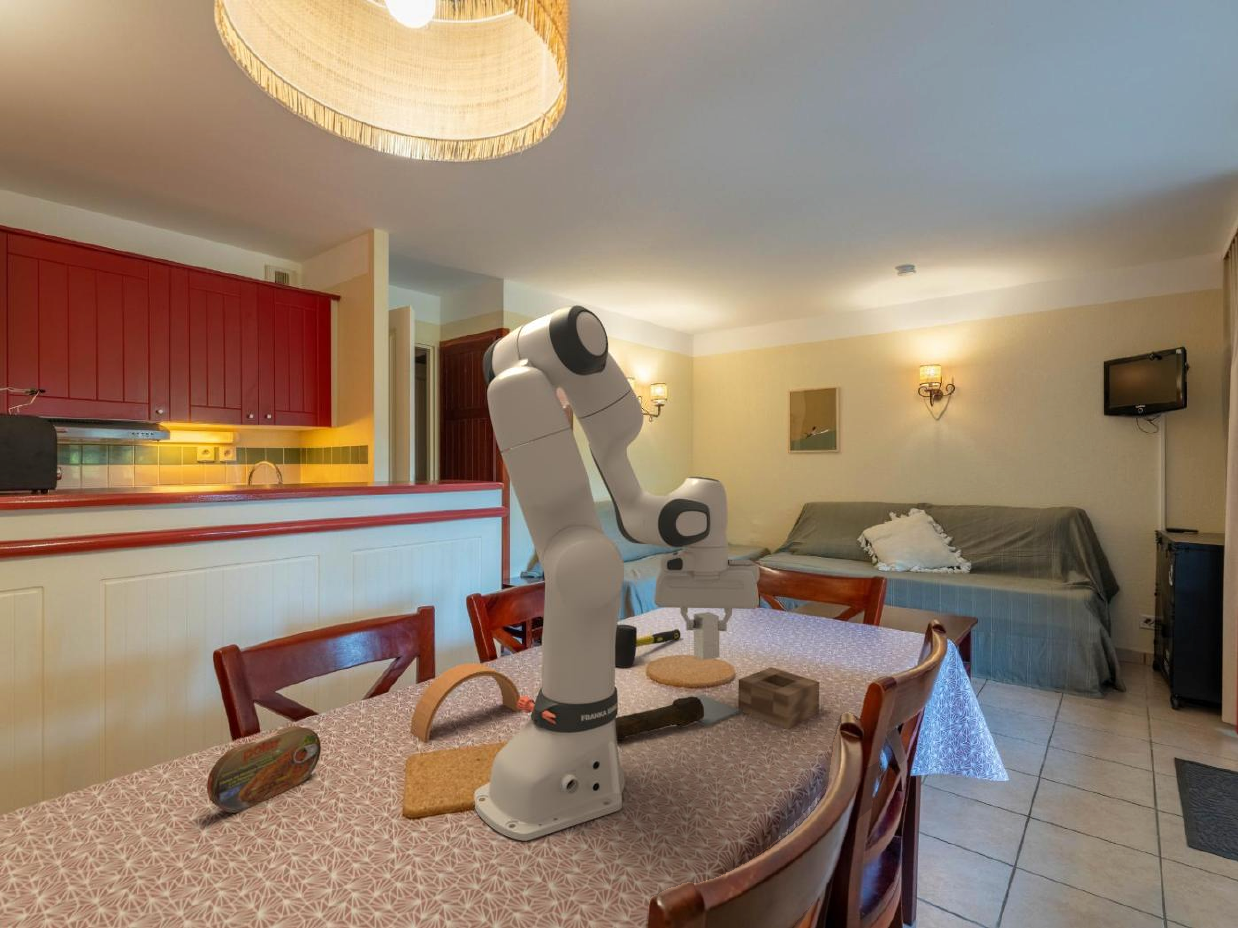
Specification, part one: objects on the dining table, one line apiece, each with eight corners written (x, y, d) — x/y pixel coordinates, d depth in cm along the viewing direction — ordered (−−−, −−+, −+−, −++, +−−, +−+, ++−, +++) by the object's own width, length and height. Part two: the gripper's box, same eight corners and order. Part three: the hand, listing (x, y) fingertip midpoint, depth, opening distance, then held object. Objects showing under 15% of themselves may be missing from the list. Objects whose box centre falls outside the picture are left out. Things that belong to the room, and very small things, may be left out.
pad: (707, 726, 110) (707, 723, 110) (668, 709, 117) (668, 706, 117) (740, 712, 117) (740, 709, 117) (701, 696, 124) (701, 694, 124)
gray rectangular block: (703, 659, 115) (702, 618, 115) (694, 654, 118) (693, 613, 118) (719, 657, 116) (718, 616, 116) (709, 651, 120) (709, 611, 120)
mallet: (667, 637, 166) (668, 603, 166) (686, 641, 163) (687, 606, 163) (605, 666, 143) (605, 626, 143) (626, 671, 139) (626, 630, 139)
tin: (214, 824, 79) (214, 761, 79) (203, 816, 81) (203, 754, 81) (322, 774, 92) (322, 720, 92) (310, 769, 94) (310, 715, 94)
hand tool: (615, 746, 102) (614, 719, 102) (606, 735, 106) (606, 709, 106) (711, 725, 109) (711, 700, 109) (700, 716, 113) (700, 692, 113)
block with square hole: (786, 728, 109) (787, 696, 109) (738, 709, 118) (738, 679, 118) (818, 712, 117) (819, 681, 117) (770, 695, 125) (771, 666, 125)
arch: (409, 732, 107) (410, 676, 107) (506, 702, 121) (506, 653, 120) (423, 743, 103) (424, 685, 103) (522, 711, 116) (522, 660, 116)
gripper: (757, 557, 119) (758, 626, 119) (655, 556, 121) (655, 624, 121) (761, 562, 113) (762, 635, 113) (652, 561, 115) (653, 633, 115)
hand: (706, 629), depth 117 cm, fingers closed on gray rectangular block, 5 cm apart
